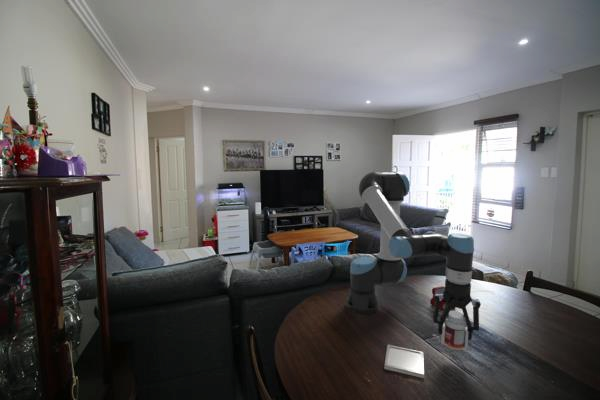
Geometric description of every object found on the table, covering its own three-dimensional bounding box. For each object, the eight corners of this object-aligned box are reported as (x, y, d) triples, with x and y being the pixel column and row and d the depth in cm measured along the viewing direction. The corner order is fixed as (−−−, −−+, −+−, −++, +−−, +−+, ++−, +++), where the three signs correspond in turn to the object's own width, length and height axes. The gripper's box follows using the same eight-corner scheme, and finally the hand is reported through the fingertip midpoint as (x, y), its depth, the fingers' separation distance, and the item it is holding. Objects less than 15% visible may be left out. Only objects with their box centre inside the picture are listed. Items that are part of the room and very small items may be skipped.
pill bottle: (439, 340, 100) (441, 310, 98) (456, 338, 100) (458, 309, 99) (450, 351, 94) (453, 319, 92) (468, 350, 94) (470, 318, 93)
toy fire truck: (459, 308, 133) (460, 287, 132) (438, 312, 129) (439, 291, 128) (447, 302, 140) (448, 282, 139) (427, 306, 136) (427, 285, 135)
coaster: (384, 368, 93) (384, 365, 93) (387, 347, 104) (387, 344, 104) (424, 378, 88) (424, 374, 88) (422, 355, 99) (423, 351, 99)
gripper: (427, 280, 94) (423, 344, 97) (495, 289, 87) (489, 358, 90) (426, 272, 101) (423, 332, 104) (489, 280, 94) (483, 344, 97)
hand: (453, 344), depth 97 cm, fingers closed on pill bottle, 6 cm apart
